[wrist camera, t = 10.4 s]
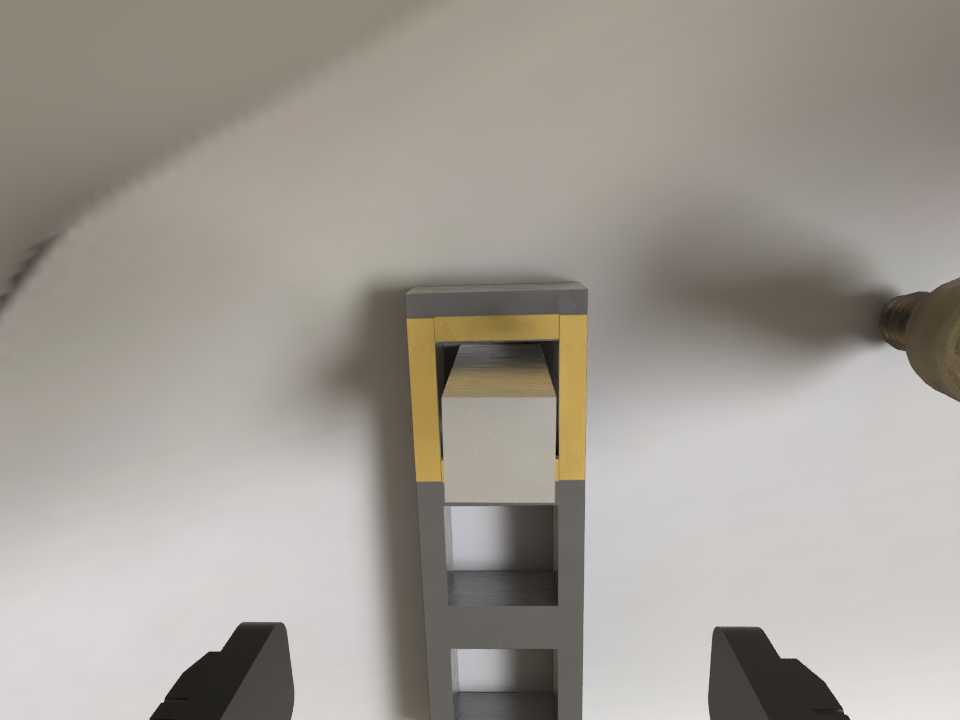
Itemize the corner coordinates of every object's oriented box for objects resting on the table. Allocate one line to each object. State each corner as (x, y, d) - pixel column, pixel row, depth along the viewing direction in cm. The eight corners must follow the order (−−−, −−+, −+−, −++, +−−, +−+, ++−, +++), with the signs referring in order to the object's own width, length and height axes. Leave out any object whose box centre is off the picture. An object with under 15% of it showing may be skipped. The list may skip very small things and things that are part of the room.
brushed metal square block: (540, 343, 29) (556, 397, 20) (539, 420, 30) (554, 502, 21) (460, 344, 29) (441, 397, 20) (462, 420, 30) (445, 502, 21)
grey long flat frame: (578, 282, 28) (587, 289, 25) (574, 724, 34) (581, 774, 31) (415, 286, 28) (404, 294, 25) (439, 723, 34) (433, 772, 31)
